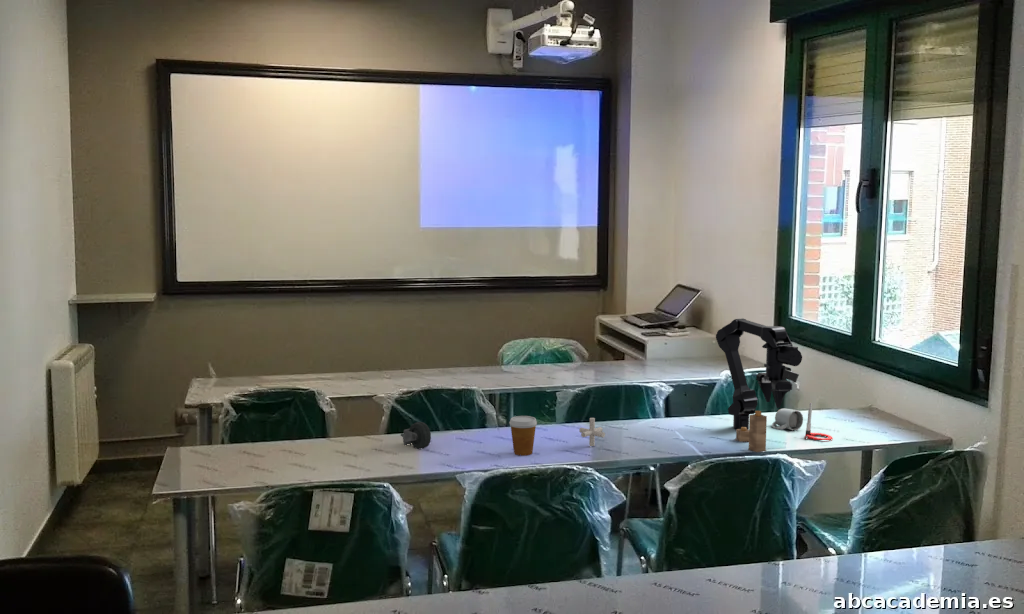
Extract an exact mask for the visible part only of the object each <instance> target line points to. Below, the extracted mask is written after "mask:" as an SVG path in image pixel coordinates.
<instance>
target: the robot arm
mask: <svg viewBox="0 0 1024 614" xmlns="http://www.w3.org/2000/svg"><path fill="white" fill-rule="evenodd" d="M744 333H747V334H751V335H754V336H756V337H759V338H760V339H761V340H762V341H763V342H765V343H764V344H763V345H762V346H761V348H763V349H766V357H765V358H766V359H765V360H766V361H765V363H764V364H763V366H764V367H765V372H758V373H757V374H756V377H755V378H756V381H758V382H757V384H758V386H759V388H760V389H761V391H762V395H763V397H764V398H765V399H764V400H765V401H766V403H770V402H771V398H772V396H773V400H774V403H775V407H776V408H777V409H779V408H780V409H781V405H782V403H783V401H784V397H785V395H786V394H787V393H790V391H792V390H793V383H797V381H798V379H799V376H800V374H798V372H794V371H792V368H791V367H788V366H792V367H798V366H799V365H801V362H802V360H803V355H802V353H801V351H800V350H799V347H798V346H797V345H796V346H795V345H793V343H792V341H791V339H790V337H789V335H788V332H787V331H786V328H785V327H784V326H781V325H780V326H778V325H774V326H773V325H764V324H762V323H761V324H760V323H757V322H755V321H751V320H747V319H746V318H734V319H733V320H732V321H730V323H728V324H726V325H724V326H723V327H722V328H721V329H720V328H719V329H718V330H717V331H716V334H715V338H716V339H715V340H716V342H717V345H718V347H719V348H720V349H721V351H723V353H724V354H725V358H726V361H727V366H728V369H729V373H730V377H731V380H732V383H733V388H734V391H733V394H732V403H731V405H730V406H729V407H728V408H727V411H728V415H731V416H733V419H732V420H733V424H732V425H733V426H732V427H733V430H735V431H736V429H741V427H746V428H747V429H748V430H749V419H750V415H753V414H755V411H757V407H758V401H759V400H758V397H757V393H756V390H755V389H751V388H750V387H749V384H748V382H747V377H746V375H745V372H744V371H745V370H744V368H743V363H742V360H741V355H740V352H739V348H740V345H741V337H742V336H743V335H744ZM786 365H787V366H786ZM791 381H792V382H791Z"/></svg>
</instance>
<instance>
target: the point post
mask: <svg viewBox="0 0 1024 614" xmlns="http://www.w3.org/2000/svg"><path fill="white" fill-rule="evenodd" d="M767 417H768V416H767V415H764V414H762V411H761V410H755V413H754V414H749V442H748V449H750V450H752V451H755V452H754V453H759V452H760V451H766V452H767V446H766V445H767V425H768V423H767V422H768V421H767V420H768V418H767ZM752 451H751V452H752Z"/></svg>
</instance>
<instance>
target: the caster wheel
mask: <svg viewBox="0 0 1024 614" xmlns="http://www.w3.org/2000/svg"><path fill="white" fill-rule="evenodd" d="M430 430H431V429H430V428H429V426H428V425H427V424H426V423H425V422H423V421H417V422H414V423H412V424H411V425H410V426H409V428H407V429H403V433H402V432H401V433H400V437H402V441H403V445H404V446H405V445H407V444H411V443H412V446H413V447H414V448H415V447H416V448H415V449H418V448H422V449H425V448H428V446H429V445H430V443H431V440H432V435H431V431H430ZM424 447H425V448H424Z"/></svg>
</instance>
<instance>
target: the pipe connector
mask: <svg viewBox="0 0 1024 614" xmlns="http://www.w3.org/2000/svg"><path fill="white" fill-rule="evenodd" d="M595 426H596V418H595V417H590V418H589V428H585V427H579V433H581V434H580V436H581V437H582V438H587V437H589V439H588V440H589V445H590V446H596V445H595V444H596V442H595V440H596V439H595V438H596V437H600V438H605V436H606V433H605V432H604V431H603V430H604V429H603V427H601V426H599V427H595ZM590 446H589V447H590Z"/></svg>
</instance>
